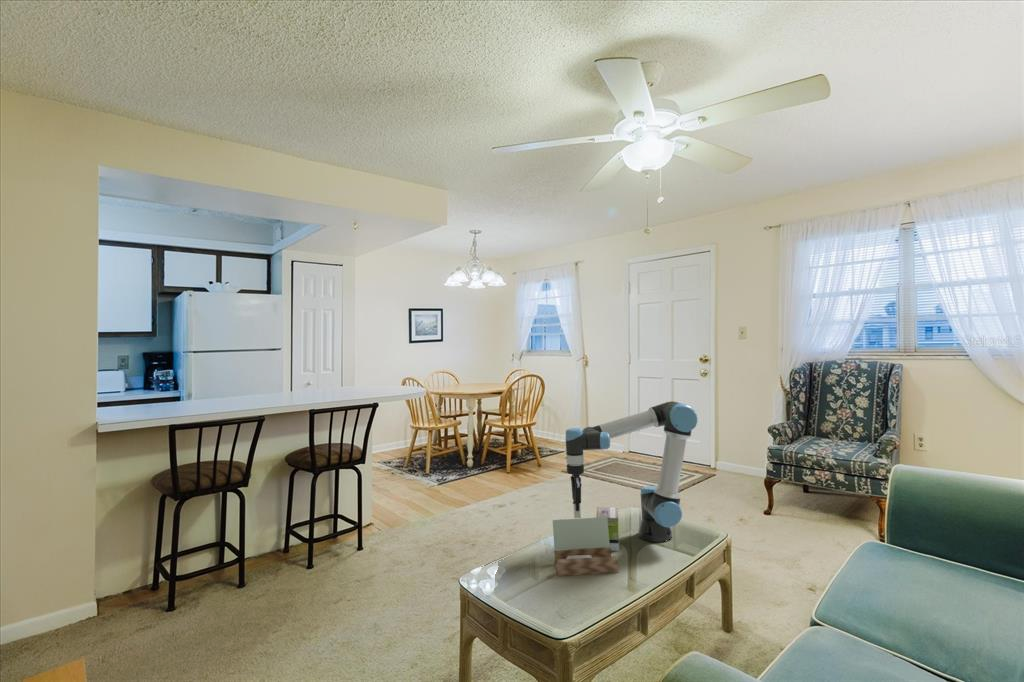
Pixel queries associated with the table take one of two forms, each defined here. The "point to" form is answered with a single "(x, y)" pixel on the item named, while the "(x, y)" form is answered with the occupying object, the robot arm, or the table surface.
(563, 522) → the cover
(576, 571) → the tissue box
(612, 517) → the tea box
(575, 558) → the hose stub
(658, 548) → the table surface
